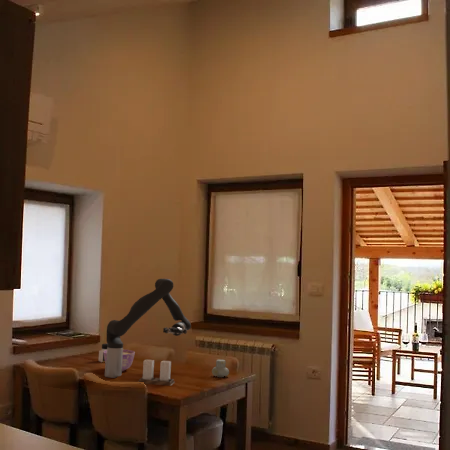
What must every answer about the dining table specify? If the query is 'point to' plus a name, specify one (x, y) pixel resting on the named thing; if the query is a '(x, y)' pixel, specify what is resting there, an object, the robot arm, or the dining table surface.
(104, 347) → the medicine bottle
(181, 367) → the dining table surface
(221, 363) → the air freshener
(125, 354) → the bowl of food
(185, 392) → the dining table surface
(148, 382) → the pallet
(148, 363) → the block
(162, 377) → the block
